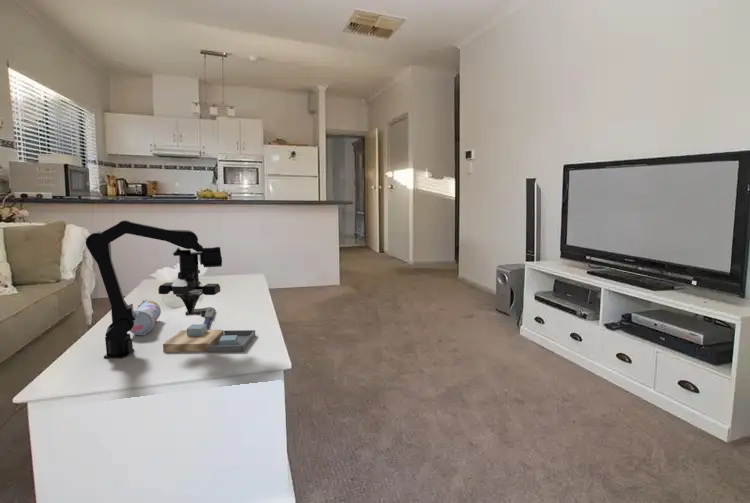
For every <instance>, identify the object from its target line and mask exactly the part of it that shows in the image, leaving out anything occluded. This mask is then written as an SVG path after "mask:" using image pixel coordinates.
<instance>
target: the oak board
mask: <svg viewBox="0 0 750 503" xmlns="http://www.w3.org/2000/svg"><path fill="white" fill-rule="evenodd" d="M224 331H225V329H212V330H211V329H208V330H207V332H205V333H204V334H203V335H202V336H187V329H185V330H183V329H182V330H181V329H180V330H179V331H178V332H177V333H176V334H175V335H173V336H172V337H170V338H169V339H168V340H166V341H165V342H164V343H162V349H163V352H165V353H167V352H208V351H209V347H208V346H214V345H215V344H216V343H217V342H218V341H219V340H220V338H221V337H222V336H224Z"/></svg>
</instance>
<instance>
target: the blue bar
mask: <svg viewBox="0 0 750 503" xmlns="http://www.w3.org/2000/svg"><path fill="white" fill-rule="evenodd" d="M193 314H194V316H195V314H196V315H200V314H201V315H200V316H201V317H204V322H203V324H207V330H209V328H210V324H211V322H212V321H213V319H214V317H215V314H216V309H215V308H214V307H212V306H209V307H203V308H194V311H193V313H192V316H193ZM184 315H185V316H190V315H189V313H188V311H187V310H186V311H185V314H184Z"/></svg>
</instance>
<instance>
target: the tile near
mask: <svg viewBox="0 0 750 503" xmlns="http://www.w3.org/2000/svg"><path fill="white" fill-rule="evenodd" d="M237 342H238V341H237V335H227V336H222V337H221V338H220V340H219V344H220V346H231V345H237Z"/></svg>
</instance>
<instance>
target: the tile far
mask: <svg viewBox="0 0 750 503" xmlns="http://www.w3.org/2000/svg"><path fill="white" fill-rule="evenodd" d="M186 330H187V336H202V335H203V334H204V333H205V332H207V324H204V323H202V324H200V323H199V324H198V323H197V324H195V323H194V324H191V325H190V326H188V327H187V328H186Z"/></svg>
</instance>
